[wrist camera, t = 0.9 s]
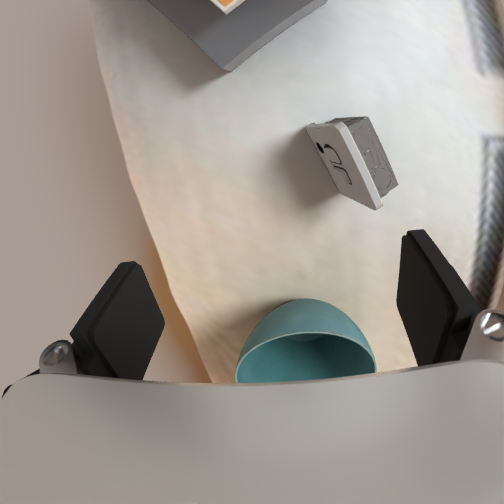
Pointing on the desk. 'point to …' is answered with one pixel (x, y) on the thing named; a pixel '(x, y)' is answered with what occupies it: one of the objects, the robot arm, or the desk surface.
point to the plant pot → (304, 345)
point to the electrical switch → (354, 159)
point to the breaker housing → (234, 25)
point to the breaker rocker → (227, 4)
